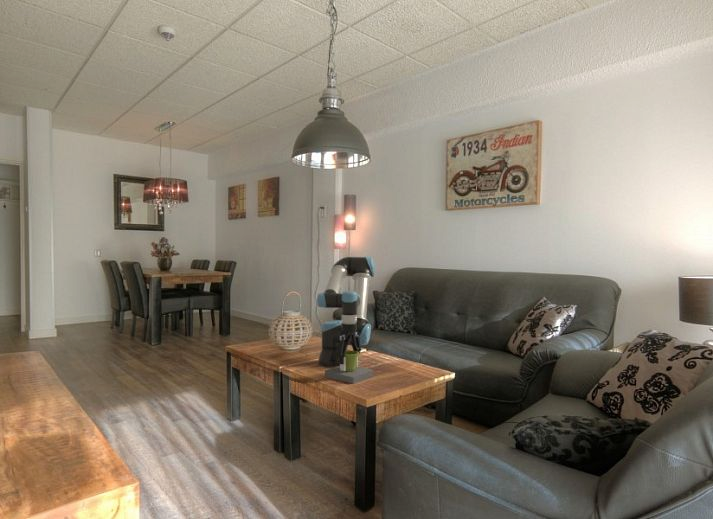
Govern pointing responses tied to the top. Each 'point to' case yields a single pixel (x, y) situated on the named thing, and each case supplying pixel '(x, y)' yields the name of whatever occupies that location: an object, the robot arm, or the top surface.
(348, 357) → the plant pot
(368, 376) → the board
